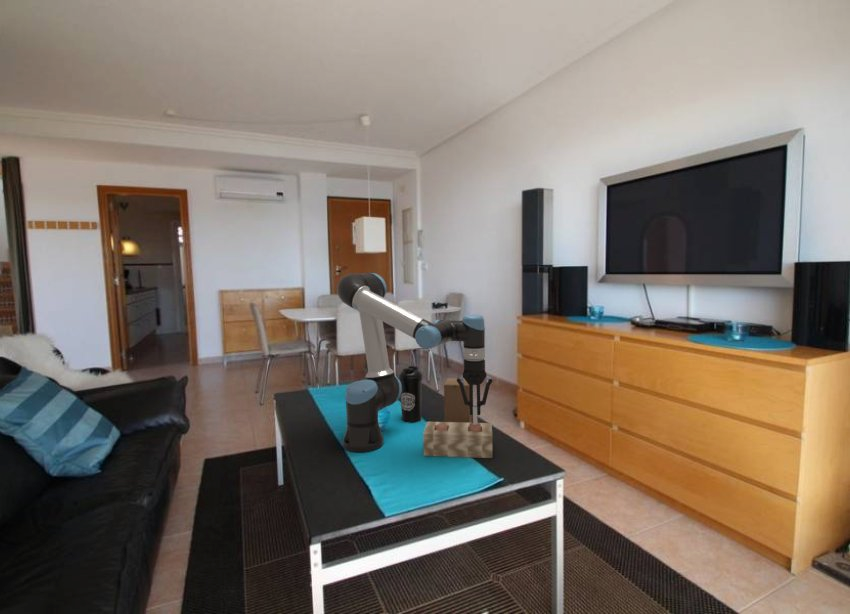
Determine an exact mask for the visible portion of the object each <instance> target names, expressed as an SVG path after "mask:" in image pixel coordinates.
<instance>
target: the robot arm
mask: <svg viewBox="0 0 850 614" xmlns="http://www.w3.org/2000/svg"><path fill="white" fill-rule="evenodd" d="M387 287H388V286H387V284H386V282H385V279H384V278H383V277H382V276H380V275H379V274H377V273H375V272H374V273H373V272H362V273H361V272H360V273H348V274H346V275H344V276H342V277H341V279H340V280H339V281H338V283H337V286H336V288H337V289H336V294H337V296H338V298H339V300H340V301H341V302H343V304H345V305H346V306H347V307H350V308H352V309H353V310H356V311H358V313H359V318H360V325H361V331H362V337H363V338H362V339H363V344H364V351H365V357H366V364H367V369H368V371H367V373H366V374H365V379H361V380H356V381H354V382H351V383H350V384H348V385H347V387H346V389H345V397H344V398H345V407H346V429H345V430H344V431H345V432H344V436H343V438H342V446H343V448H344V449H345V450H346V451H348V452H350V453H351V452H352V453H367V452H368V453H369V452H372V451H376V450H378V449H380V448H381V447H382V446H383V445H384V435H383V432H382V430H381V427H380V424H379V411H381V410H383V409H385V408H387V407H390V406H392V405H394V404H395V403H396V402H397V401H399V399H401V393H402V385H401V382H400V380H399V377H398V376H396V375H395V370H393V369H392V368H391V367H390V361H389V354H388V349H387V341H386V334H385V330H384V323H385V324H387V325H388V326H390V327H392V328H394V329H396V330H398V331H400V332H401V333H403V334H405V335H407V336H408V337H410V338H413V339H415V342H416V344H417V345H418V347H420V348H421V349H425V350H426V349H432V348H436V347H438V346H441V345H444V344H446V343H448V342H459V343H460V342H461V343H463V358H464V359H463V372H462V375H461V376H459V377H458V376H457V382H458V384H459V385H460V388H461V392H462V396H463V400H464V404H465V405H469V407H470V415H472V422H473V425H477V422H478V416H481V407H483V406H485V405H486V403H487V398H488V394H489V390H490V386H491V384H492V383H493V381H494V379H493V377H490V376H488V375H487V372H486V359H485V358H486V347H485V346H486V345H485V342H486V341H485V340H486V339H485V338H486V337H485V336H486V335H485V334H486V333H485V332H486V331H485V330H486V326H485V319H484V316H482V315H479V314H467V315H463V317H462V320H453V319H435V320H433V321H432V322H431V321H429V320H427V319H425V318H423V317H421V316H419V315H417V314H415V313H414V312H411V311H409V310H408V309H405V308H404V307H402V306H400V305H398V304H396V303H394V302H392V301H390V300H388V299H386V298H385V297H386V294H387ZM463 379H465V380H466V382H467V383H468V384H469V400H470V401H468V399H467V395H466V391H465V388H464V384H463V382H464V380H463ZM484 381H485V383H486V384H485V386H484V391H483V395H482V400H481V384H482V383H483V382H484ZM474 386H476V404H474Z"/></svg>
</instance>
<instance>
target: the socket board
mask: <svg viewBox="0 0 850 614" xmlns="http://www.w3.org/2000/svg"><path fill="white" fill-rule="evenodd" d="M479 423H480V424H481V432H476V431H469V424H470V423H461V422H445V421H426V423H425V424H426V425H425V427H424V430H423V433H422V440H423V445H422V447H423V456H424V457H427V456H428V457H445V458H446V457H449V458H453V457H454V458H477V459H478V458H482V459H493V428H492V427H493V425H492V423H491V422H479ZM438 424H445V425H447V431H440V430H436V425H438Z"/></svg>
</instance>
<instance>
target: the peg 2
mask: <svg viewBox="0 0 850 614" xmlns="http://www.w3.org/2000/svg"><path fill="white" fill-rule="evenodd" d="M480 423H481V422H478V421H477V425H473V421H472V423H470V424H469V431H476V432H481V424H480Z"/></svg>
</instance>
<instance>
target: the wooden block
mask: <svg viewBox="0 0 850 614" xmlns="http://www.w3.org/2000/svg"><path fill="white" fill-rule="evenodd" d="M457 378H458V377H457ZM457 378H456V377H447V379H446V381H445V383H444V384H443V400H444V401H443V405H444V407H443V409H444V414H443V415H444V422H461V423H472V422H473V415H470V407H469V405H465V404H464V400H463V396H462V392H461V388H460V385H459V384H458V382H457ZM463 380H464V382H463V384H464V388H465V391H466V395H467V399H468V401H470V400H469V384H468V383H467V382H466V380H465V379H463Z"/></svg>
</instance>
